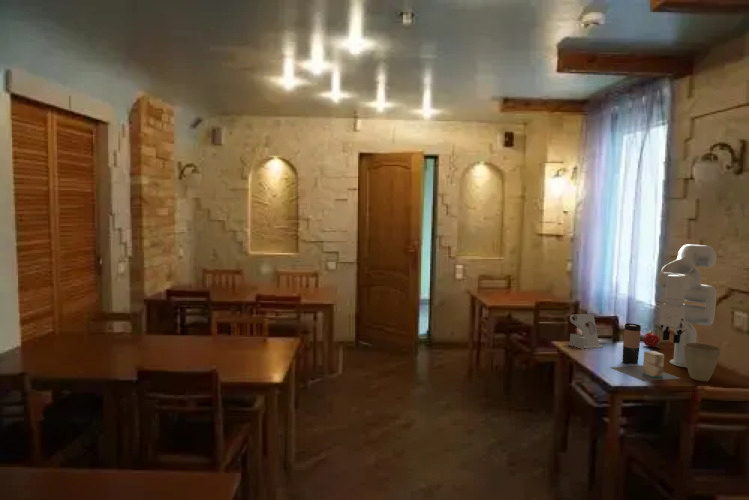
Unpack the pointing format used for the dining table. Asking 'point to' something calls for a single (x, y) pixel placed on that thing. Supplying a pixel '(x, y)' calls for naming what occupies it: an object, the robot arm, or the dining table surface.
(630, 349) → the travel mug
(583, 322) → the phone holder
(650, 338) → the christmas ornament
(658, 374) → the maple block
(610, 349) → the dining table surface
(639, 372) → the rubber mat
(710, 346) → the plant pot
